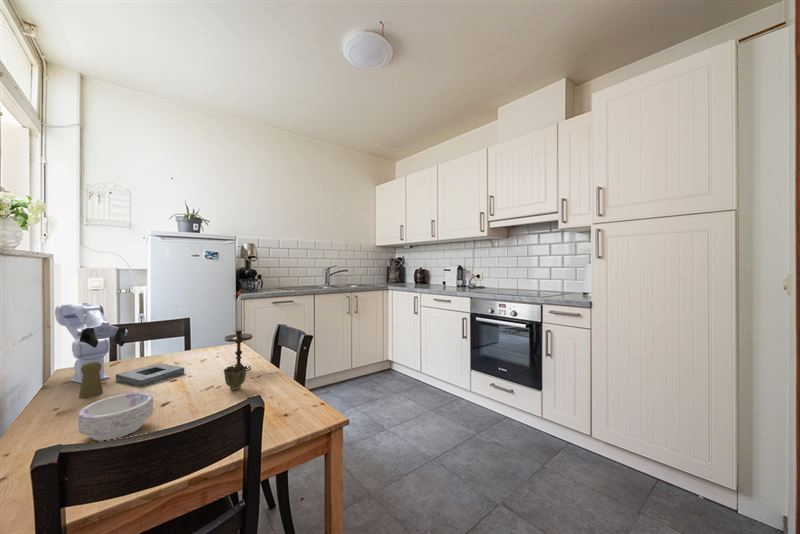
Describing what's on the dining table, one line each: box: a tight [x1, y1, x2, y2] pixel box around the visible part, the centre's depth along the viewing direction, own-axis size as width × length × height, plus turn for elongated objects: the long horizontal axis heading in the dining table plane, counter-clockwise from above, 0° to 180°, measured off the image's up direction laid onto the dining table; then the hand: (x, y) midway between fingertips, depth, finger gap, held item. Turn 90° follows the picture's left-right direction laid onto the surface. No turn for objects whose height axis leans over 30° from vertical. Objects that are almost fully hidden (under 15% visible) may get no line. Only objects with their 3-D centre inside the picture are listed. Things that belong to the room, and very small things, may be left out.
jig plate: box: [115, 362, 185, 388], centre depth 129 cm, size 16×16×2 cm
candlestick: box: [224, 288, 253, 369], centre depth 140 cm, size 11×11×35 cm
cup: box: [223, 365, 247, 392], centre depth 117 cm, size 8×7×8 cm
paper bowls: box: [77, 392, 154, 442], centre depth 87 cm, size 15×15×8 cm
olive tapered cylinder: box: [78, 362, 104, 399], centre depth 112 cm, size 6×6×11 cm
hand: (109, 344), depth 115 cm, fingers open, 7 cm apart
